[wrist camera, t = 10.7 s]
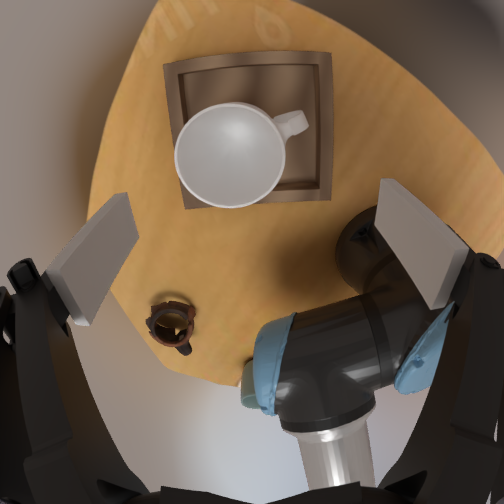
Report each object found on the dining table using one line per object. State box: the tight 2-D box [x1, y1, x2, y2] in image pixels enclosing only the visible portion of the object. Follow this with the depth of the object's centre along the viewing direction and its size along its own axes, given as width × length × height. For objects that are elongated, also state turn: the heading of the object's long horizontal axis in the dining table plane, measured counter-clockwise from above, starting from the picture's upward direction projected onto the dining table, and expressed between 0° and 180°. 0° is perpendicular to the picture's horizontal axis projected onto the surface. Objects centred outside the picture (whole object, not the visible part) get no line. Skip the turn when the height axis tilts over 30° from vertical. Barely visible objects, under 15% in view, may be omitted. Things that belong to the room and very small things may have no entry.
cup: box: [241, 360, 261, 409], centre depth 54 cm, size 8×8×10 cm
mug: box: [174, 102, 309, 208], centre depth 25 cm, size 12×9×12 cm
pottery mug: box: [146, 301, 196, 356], centre depth 48 cm, size 12×10×8 cm
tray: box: [163, 51, 333, 209], centre depth 29 cm, size 18×18×4 cm
